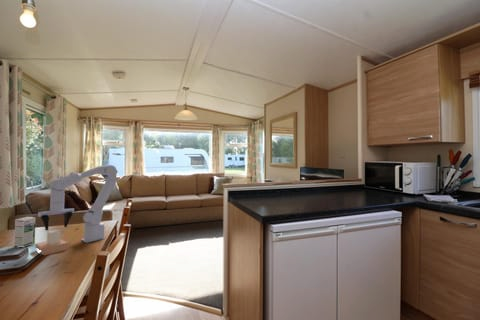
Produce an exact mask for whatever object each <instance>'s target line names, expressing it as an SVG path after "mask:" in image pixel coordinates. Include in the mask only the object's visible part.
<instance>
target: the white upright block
mask: <svg viewBox="0 0 480 320" xmlns="http://www.w3.org/2000/svg"><path fill="white" fill-rule="evenodd" d="M46 235H47V237H46V242H47V244H49V245H54V244H58V243H61V239H62V238H61V237H62V230H59V229H53V230H50V231H49V230H47V233H46Z"/></svg>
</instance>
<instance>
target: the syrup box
mask: <svg viewBox="0 0 480 320" xmlns="http://www.w3.org/2000/svg"><path fill="white" fill-rule="evenodd" d="M35 240H36V217H34V216H25V217H20V218H15V220H14V244H13V245H14V246H27V245H30V246H34V245H36V241H35ZM14 246H13V247H14ZM27 247H28V246H27Z"/></svg>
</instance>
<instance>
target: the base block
mask: <svg viewBox="0 0 480 320" xmlns="http://www.w3.org/2000/svg"><path fill="white" fill-rule="evenodd" d="M35 248H38V249H39V250H41V251H42V254H43V255H44V256H47V255H52V254H56V253H59V252H64V251H68V242H67V241H66V240H64V239H62V238H61V243H58V244H54V245H49V244H47V241H42V242H37V243H35Z"/></svg>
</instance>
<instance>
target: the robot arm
mask: <svg viewBox="0 0 480 320" xmlns="http://www.w3.org/2000/svg"><path fill="white" fill-rule="evenodd" d="M97 174H98V175H101V176H102V178H103V179H104V181H105V182H104V184H103V185H102V187H101V189H100V192H99V193H98V195H97V197H96V199H95V201H94V203H93V205H92V206H91V207H90V208H88V210H87V211H86V212H85V213H84V214H83V216H82V221H83V222H84V233H83V237H82V238H81V239H80V240H81V241H82V242H84V243H86V244H87V243H90V242H91V243H92V242H95V241H96V242H97V241H99V240H101V241H102V240H105V224H104V222H102V218H103V214H104V211H103V209H104V207H105V204H106V202H107V201H108V200H109V197H110V195H111V193H112V191H113V189H114V187H115V185H116V183H117V176H118V175H117V174H118V169H117V168H116V166H115V165H111V164H109V165H106V164H102V165H98V166H95V167H92V168H90V169H87V170H85V171H82V172H79V173H78V172H77V171H76V172H73V171H71V172H69V174H67V175H62V176H59V178H53V179H52V180H51V181H50V182H49V184H48V186H49V188H50V196H49V197H50V198H49V199H50V201H49V210H45V211H39V212H38V213H37V217H39V218H40V219H41V220H42V222H43V225H44V231H49V221H50V217H49V216H53V215H62V214H63V216H64V217H63V218H64V219H63V220H64V222H63V227H64V228H67V227H68V225H69V221H70V219H71V218H72V216H73V213H75V208H72V207H71V208H65V198H66V197H65V192H66V191H65V190H66V188H68V187H71V186H73V185H76V184H78V183H80V182H81V181H82V180H83V179H85V178H88V177H92V176H94V175H97Z"/></svg>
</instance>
